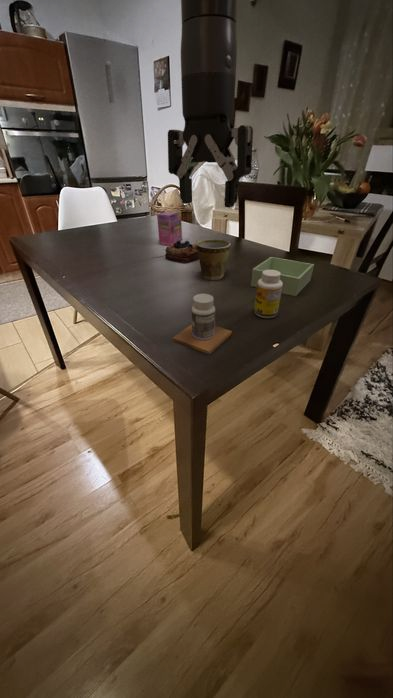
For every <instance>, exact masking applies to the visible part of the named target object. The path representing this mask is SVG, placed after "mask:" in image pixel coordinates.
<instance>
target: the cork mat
mask: <svg viewBox="0 0 393 698" xmlns="http://www.w3.org/2000/svg"><path fill="white" fill-rule="evenodd" d="M231 335H233V331H232V330H230V329H226V328H223V327H220V326H218V325H215V334H214V336H213V337H212V338H210V339H207V340H200V339H197V338H195V337H194V336H193V334H192V323H191V324H189V325H188V326H187V327H186V328H184V329H183V330H181V331H180V332H178V333H177V334H176V335H174V336H173V337H172V341H173V342H174V343H175V342H176V343H177V344H180V345H182V346H185V347H188V348H191V349H193V350H196V351H199V352H201V353H203V354H206V355H208V356H209V355H211V354H212V353H213V352H215V350H216V349H218V348H219V347H220V346H221V345H222V344H223V343H224V342H226V340H228V339H229V337H230V336H231Z"/></svg>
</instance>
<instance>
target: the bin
mask: <svg viewBox="0 0 393 698" xmlns="http://www.w3.org/2000/svg"><path fill="white" fill-rule="evenodd" d="M314 267H315V264H314V263H309V262H303V261H297V260H292V259H288V258H287V259H285V258H280V257H274V256H270V257H268V258H267V259H265V260H263V261H262V262H261V263H259V264H258V265H257V266H254V267H253V268H252V272H251V280H250V287H253V288H257V283H258V280H259V279H261V278H262V272H263V271H264V270H276V271H279V272H280V273H281V275H280V280H281V281H282V283H283V286H282V292H281V294H282V295H283V294H284V295H288V296H292V297H297V296H298V295H299V294H300V292H301V291H303V289H304V288H305V287H306V286H307V285H308V284H309V283H310V282H311V280H312V275H313V272H314Z"/></svg>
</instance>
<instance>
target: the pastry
mask: <svg viewBox="0 0 393 698" xmlns="http://www.w3.org/2000/svg"><path fill="white" fill-rule="evenodd" d="M196 244H197V243H195V244H194V243H193V244H192V243H191V242H190V240H185V241H183V242H182V240H178V241H177V242H176V243H174V244H173V245H171V246H166V248H165V254H164V255H165V260H168V261H171V262H176V263H180V264H181V263H182V264H189V263H192V262H195V261H198V260H199V256H198V252H197V245H196Z"/></svg>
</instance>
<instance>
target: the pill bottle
mask: <svg viewBox="0 0 393 698" xmlns="http://www.w3.org/2000/svg"><path fill="white" fill-rule="evenodd" d="M214 299H215V298H214V296H213V295H211V294H209V293H197V294H196V295H194V296H193V297H192V306H191V324H192V334H193V336H194V337H195V338H197V339H200V340H207V339H210V338H212V337H213V336H214V334H215V326H216V307H215V303H214Z"/></svg>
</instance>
